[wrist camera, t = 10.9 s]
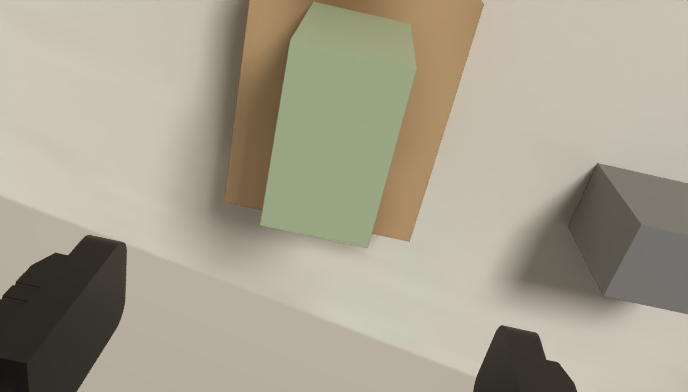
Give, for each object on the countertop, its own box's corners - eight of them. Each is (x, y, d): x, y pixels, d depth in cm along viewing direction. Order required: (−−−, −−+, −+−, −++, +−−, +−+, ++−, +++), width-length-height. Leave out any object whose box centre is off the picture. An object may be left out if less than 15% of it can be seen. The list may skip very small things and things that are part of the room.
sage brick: (313, 1, 21) (290, 40, 16) (410, 23, 21) (416, 68, 16) (286, 153, 24) (260, 225, 19) (372, 172, 24) (367, 248, 19)
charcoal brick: (721, 190, 28) (791, 257, 23) (685, 251, 29) (743, 326, 25) (597, 162, 27) (641, 224, 23) (567, 225, 29) (603, 296, 24)
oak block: (470, -15, 24) (483, 4, 21) (407, 196, 29) (409, 241, 25) (275, -61, 24) (255, -49, 20) (244, 161, 29) (223, 201, 25)
